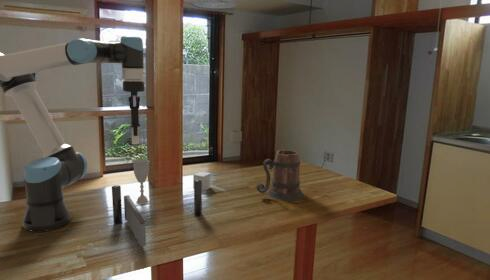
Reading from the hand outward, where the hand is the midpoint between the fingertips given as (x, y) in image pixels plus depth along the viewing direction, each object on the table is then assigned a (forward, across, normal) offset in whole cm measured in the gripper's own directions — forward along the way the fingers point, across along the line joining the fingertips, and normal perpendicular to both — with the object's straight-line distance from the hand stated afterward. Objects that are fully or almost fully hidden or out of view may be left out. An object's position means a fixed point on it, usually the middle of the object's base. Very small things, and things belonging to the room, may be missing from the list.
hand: (135, 143), depth 137 cm
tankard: (+29, +7, -63) cm, 70 cm away
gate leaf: (+27, -17, +2) cm, 32 cm away
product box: (+29, +24, -30) cm, 48 cm away
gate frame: (+28, -6, -7) cm, 30 cm away
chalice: (+29, +13, -2) cm, 31 cm away
